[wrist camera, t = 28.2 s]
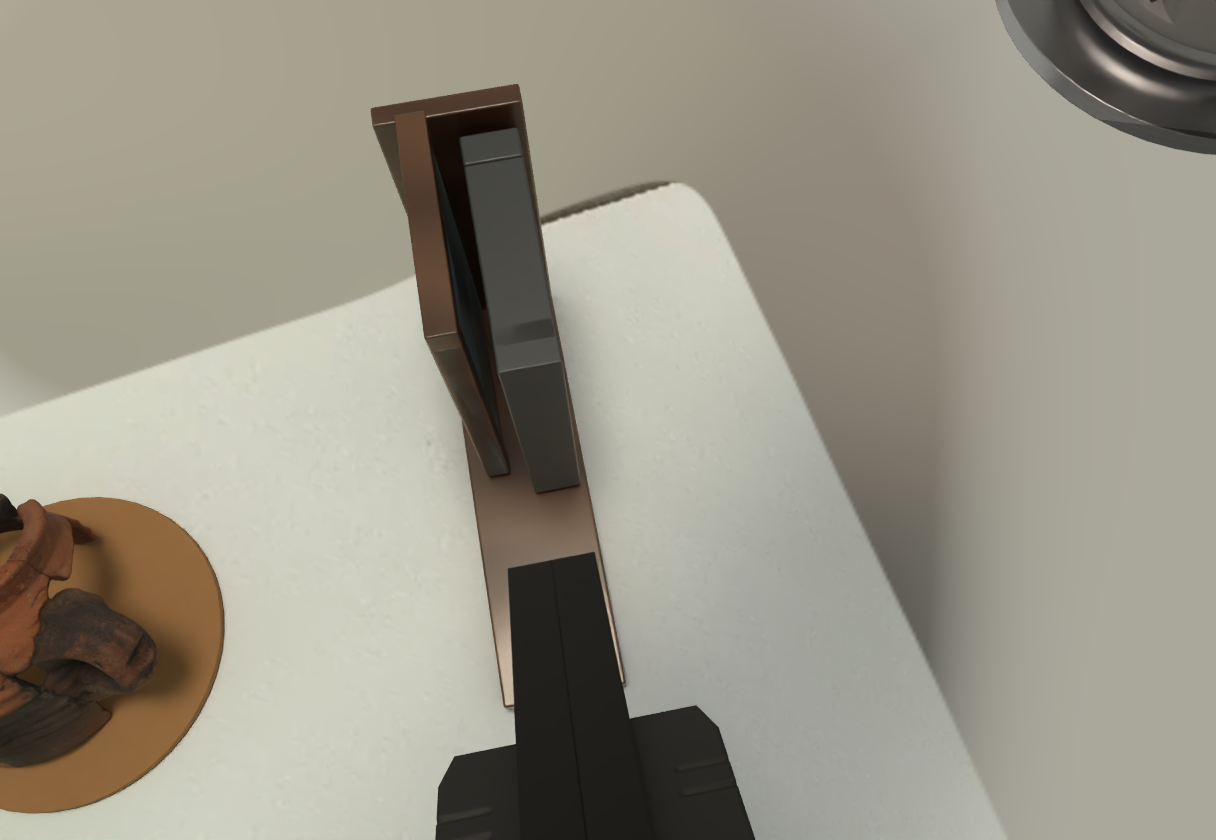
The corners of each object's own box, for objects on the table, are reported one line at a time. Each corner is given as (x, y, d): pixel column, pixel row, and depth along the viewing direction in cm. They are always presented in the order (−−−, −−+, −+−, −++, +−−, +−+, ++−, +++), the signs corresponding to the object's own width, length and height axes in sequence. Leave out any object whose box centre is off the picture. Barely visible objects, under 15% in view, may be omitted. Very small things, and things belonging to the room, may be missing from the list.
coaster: (261, 522, 42) (258, 520, 42) (168, 839, 37) (163, 839, 37) (-15, 479, 43) (-20, 477, 42) (-138, 783, 38) (-145, 783, 38)
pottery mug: (-92, 776, 38) (-249, 658, 33) (54, 591, 45) (-58, 468, 40) (151, 807, 35) (19, 681, 30) (269, 602, 42) (178, 469, 37)
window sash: (581, 484, 41) (562, 362, 29) (535, 493, 41) (497, 374, 28) (546, 306, 44) (517, 125, 32) (504, 313, 44) (458, 135, 31)
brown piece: (626, 686, 39) (627, 635, 25) (507, 710, 39) (438, 673, 25) (550, 295, 46) (517, 74, 31) (448, 313, 45) (366, 99, 31)
